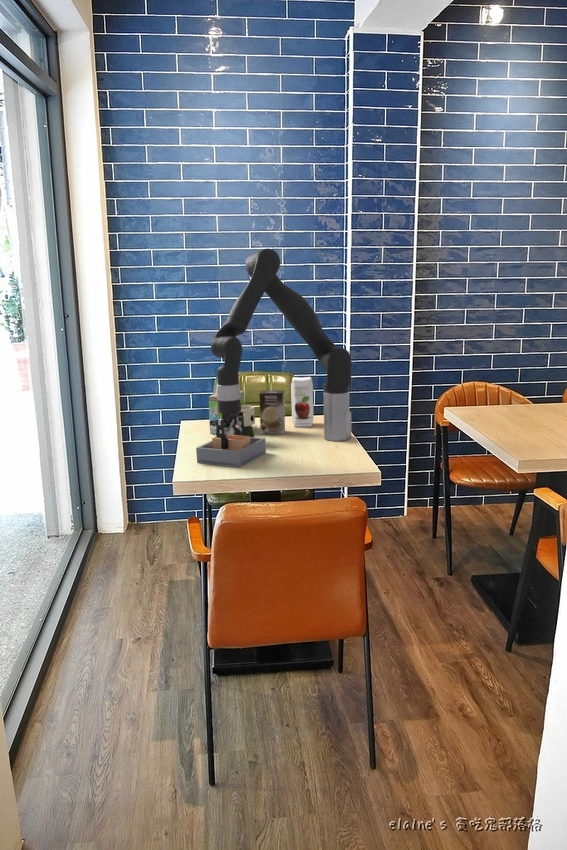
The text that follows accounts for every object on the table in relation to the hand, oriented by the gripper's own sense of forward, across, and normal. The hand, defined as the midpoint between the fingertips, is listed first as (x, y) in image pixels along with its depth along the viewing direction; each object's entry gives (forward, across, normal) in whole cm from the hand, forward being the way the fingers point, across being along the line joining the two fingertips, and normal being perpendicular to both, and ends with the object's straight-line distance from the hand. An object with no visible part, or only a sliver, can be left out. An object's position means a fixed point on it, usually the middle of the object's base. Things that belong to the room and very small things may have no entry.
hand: (231, 445), depth 216 cm
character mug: (+4, +19, +5) cm, 20 cm away
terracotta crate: (+3, 0, 0) cm, 3 cm away
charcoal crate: (+4, 0, 0) cm, 4 cm away
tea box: (+4, +34, +21) cm, 40 cm away
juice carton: (+4, +50, -4) cm, 50 cm away
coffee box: (+4, +35, +2) cm, 35 cm away
